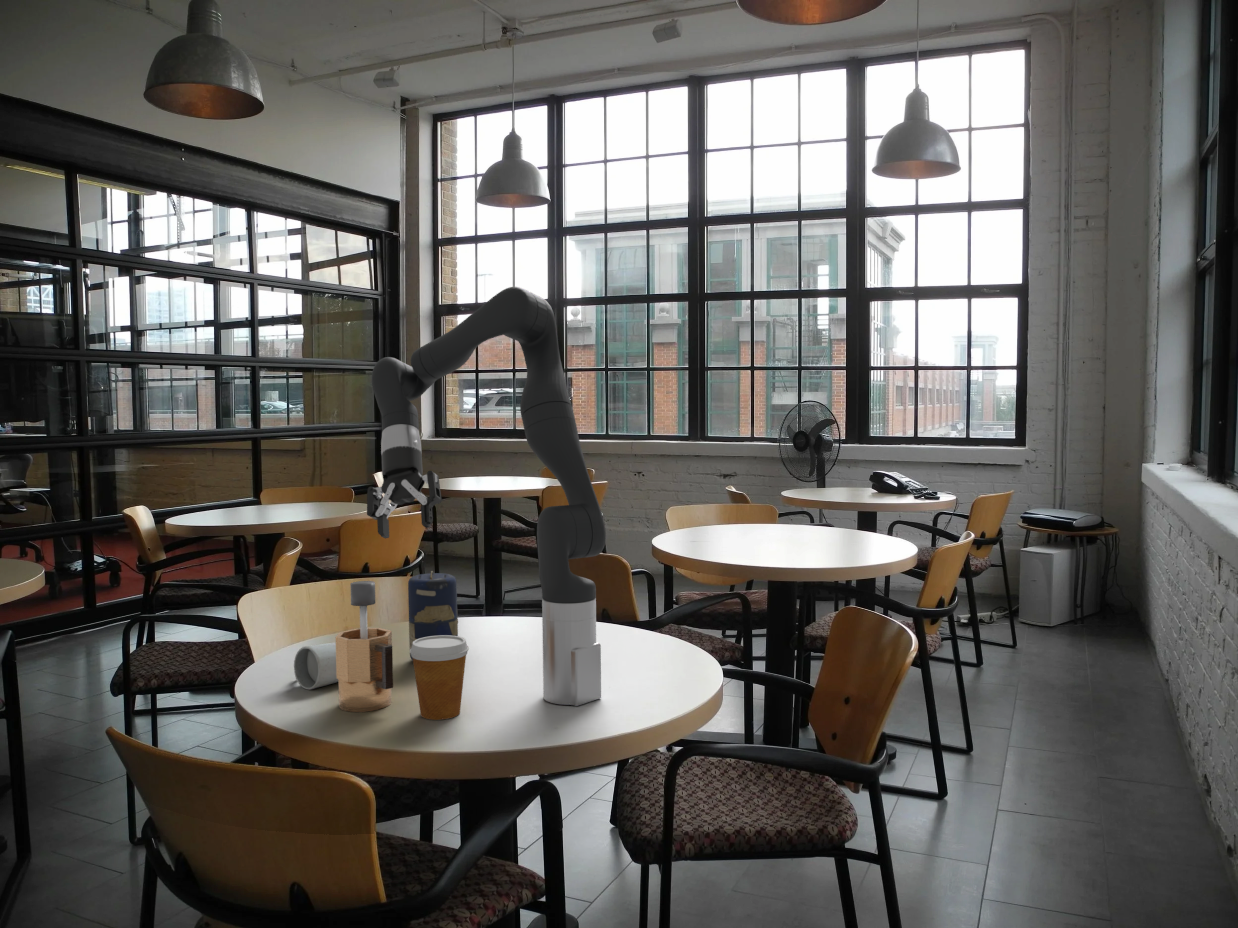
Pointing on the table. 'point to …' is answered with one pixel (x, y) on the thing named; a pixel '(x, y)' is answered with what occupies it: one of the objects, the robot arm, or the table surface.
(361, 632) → the plunger
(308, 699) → the table surface
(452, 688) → the disposable coffee cup
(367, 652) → the wooden pitcher
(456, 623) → the canister
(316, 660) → the ceramic mug
